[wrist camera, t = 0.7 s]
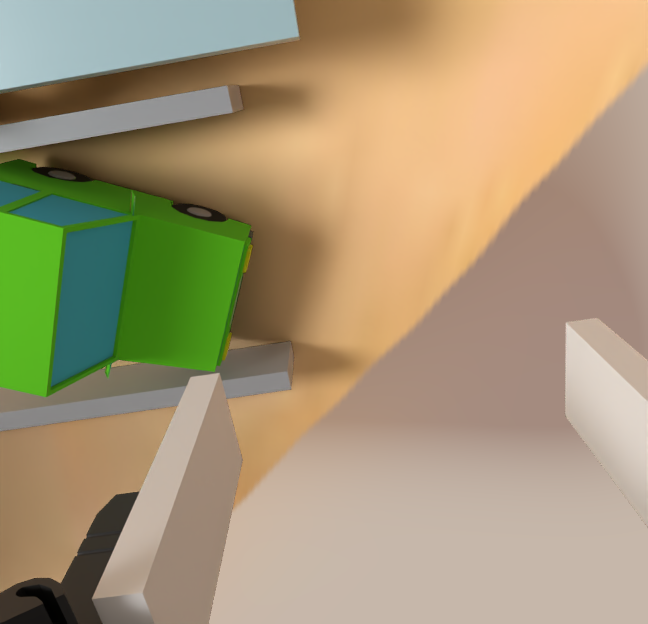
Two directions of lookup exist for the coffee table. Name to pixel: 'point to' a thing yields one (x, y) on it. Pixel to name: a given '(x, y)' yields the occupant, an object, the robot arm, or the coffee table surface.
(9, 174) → the toy car
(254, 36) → the cover
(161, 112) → the grey long bars
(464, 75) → the coffee table surface
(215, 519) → the robot arm
